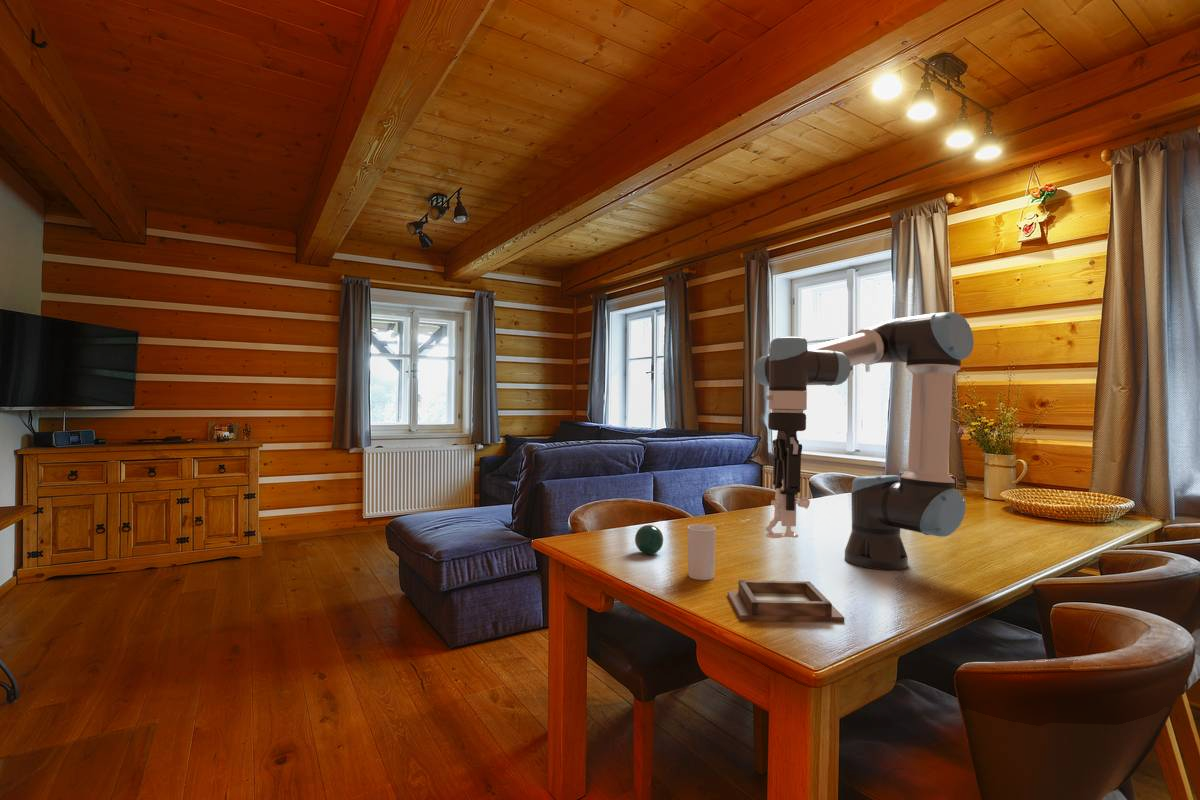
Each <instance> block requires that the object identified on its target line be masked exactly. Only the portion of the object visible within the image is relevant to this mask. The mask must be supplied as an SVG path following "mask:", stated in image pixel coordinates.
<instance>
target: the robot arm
mask: <svg viewBox="0 0 1200 800" xmlns="http://www.w3.org/2000/svg"><path fill="white" fill-rule="evenodd" d="M974 343H975V341H974V335H973V331H972V327H971V326H970V324H969V323H968V321H967V320H966V318H965V317H964V316H963V315H961V314H959V313H958V312H956V311H945V312H938V311H936V312H933V313H927V314H926V313H925V314H920V315H914V316H913V315H912V316H907V317H899V318H894V319H890V320H887V321H885V322H881V323H879V324H874V325H872V326H870V327H866V328H862V329H859V330H858V331H857V332H855V333H854V335H853V334H852V335H850V336H845V337H841V338H838V339H834V340H830V341H825V342H822V343H817V344H813V345H810V346H809V345H808V341H807V339H806V338H804V337H799V336H785V337H783V336H781V337H777V338H773V339H772V340H771V341H770V345H769V354H767V355H762V356H760V357H759V358H758V359H757V360H756V362H755V363H754V366H753V375H754V378H755V380H756V382H757V383H758V384H760V385H761V386H764V387H765V386H766V387H768V395H766V396H765V399H766V400H767V401H768V409H769V410H771V412H769V413H768V421H767V422H768V423H767V425H768V426H767V427H768V429H769V430H771V431H777V435H776V438H775V439H773V440H772V450H773V452H772V453H773V454H772V455H773V456H772V459H773V461H772V485H773V486H774V488H775V490H776V489H777V488H781V487H782V479H783V486H784V490H783V491H780V494H782V515H781V517H780V520H779V522H781V526H782V527H787V526H791V527H797V504H796V501H797V495H798V494H801V493H800V492H801V473H802V472H801V470H802V469H801V468H802V464H801V463H802V451H803V444H802V443H799V442H800V441H799V439H798V435H797V432H804V431H805V430H806V428H807V415H806V413H804V411H806V410H807V407H808V406H807V400H808V398H807V397H808V391H807V390H808V389H807V387H808V386H827V387H828V386H831V387H832V386H838V385H842V384H843V383H845V382H846V381H847V379H848V378H849V376H850V375H851V367H853V366H857V365H861V364H863V365H865V366H871V365H874V364H875V365H876V364H881V363H883V364H885V363H906V364H905V366H906V367H905V368H906V369H907V370H908V372H910V374H912V381H911V382H912V383H911V397H910V398H911V399H910V401H911V402H910V420H909V421H910V422H909V438H908V440H909V441H908V457H907V458H908V459H907V470H906V471H905V472H903V473H902V474H901V475H896V474H888V475H887V474H883V475H880V474H879V475H862V476H856V477H854V479H853V480H852V483H851V484H852V486H851V492H850V493H851V531H850V535H849V537H848V541H847V544H846V546H845V548H844V560H845V561H846V562H848V563H850V564H852V565H855V566H859V567H862V568H868V569H872V570H873V569H874V570H885V571H887V570H888V571H891V570H892V571H896V570H903V569H906V568H907V567H909V559H908V558H909V557H908V555H907V551H906V547H905V545H904V543H903V539H902V537H901V529H902V530H905V531H910V532H911V531H912V532H915V533H920V534H922V535H923V534H924V536H934V537H940V538H942V537H948V536H950V535H952V534H954V533H955V532H956V531H957V530H958V528H959V527H960V526H961V525H962V522H963V520H964V518H965V514H966V500H965V497H964V495H963V493H962V492H961V491H959V490H958V489H956V488H955V487H956V484H955V483H956V481H955V480H954V479H953V477H951V475H950V474H949V462H950V461H949V459H950V458H949V457H950V442H951V441H950V440H951V439H950V438H951V423H952V422H951V421H952V420H951V418H952V399H953V382H954V381H953V379H954V375H955V374H956V373H957V372H958V371H959V370H961V366H962V361H963V360H965V359H967V358H969V357H970V356H971V354H972V352H973V350H974V346H975V345H974Z"/></svg>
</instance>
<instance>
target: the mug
mask: <svg viewBox="0 0 1200 800" xmlns="http://www.w3.org/2000/svg"><path fill="white" fill-rule="evenodd" d="M715 561H716V527H715V526H713V525H710V524H701V523H700V524H690V525H688V526H687V568H688V569H687V572H688V577H689V578H691V579H694V580H696V581H710V580H712V579H714V578H715V566H716V565H715V564H716V562H715Z"/></svg>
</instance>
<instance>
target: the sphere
mask: <svg viewBox="0 0 1200 800" xmlns="http://www.w3.org/2000/svg"><path fill="white" fill-rule="evenodd" d="M634 543H635V547H637V549H638V550H639V552H641V553H643V554H646V555H654V554H656V553H658V552H659V551H661V549H662V547H663V545H664V535H663V532H662V531H661V530H660V528H658V527H657V526H655V525H653V524H646V525H643V526H641V527H639V528H638V530H637V531H636V533H635V536H634Z"/></svg>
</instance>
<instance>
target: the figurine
mask: <svg viewBox="0 0 1200 800" xmlns="http://www.w3.org/2000/svg"><path fill="white" fill-rule="evenodd" d="M783 490H784V486H783V479H782V487H781V488H777V489H775V496H774V499H772V500H770V501H771V502H770V505H771V506H773V507H774V512H773V513H774V516H773V519H772V520H770V521H769V524H768V525H767V526H766V527H765V531H766V532H767V533H766V534H765V537H766V538H771V539H781V538H799V535H798V534H797V533H796V532H795V531H793V530H792V526H785V527H786V528H785V532H774V531H772V529H773V528H774V527H776V525H777V524H778V523H779V522H780V521H779V520H780V517H781V515H782V494H780V491H783ZM796 505H797V506H798V507H800V508H804V509H806V510H808V508H809V507H810V499H809V498H808V497H806V496H805V497H804V496H802V498H800V499H798V500H796Z"/></svg>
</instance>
